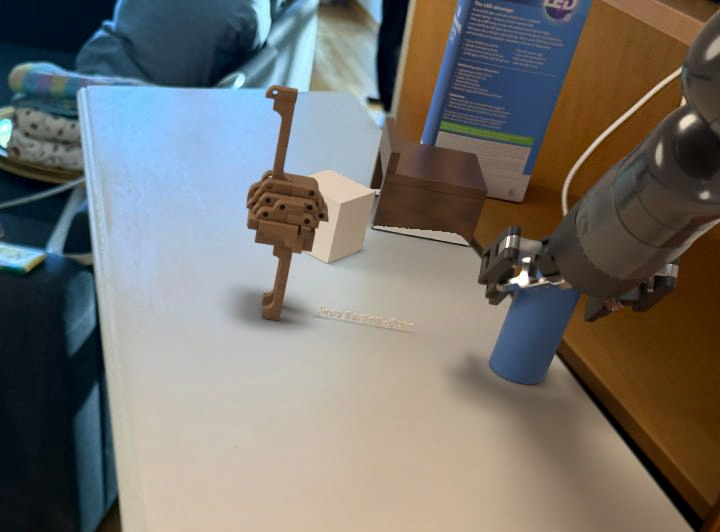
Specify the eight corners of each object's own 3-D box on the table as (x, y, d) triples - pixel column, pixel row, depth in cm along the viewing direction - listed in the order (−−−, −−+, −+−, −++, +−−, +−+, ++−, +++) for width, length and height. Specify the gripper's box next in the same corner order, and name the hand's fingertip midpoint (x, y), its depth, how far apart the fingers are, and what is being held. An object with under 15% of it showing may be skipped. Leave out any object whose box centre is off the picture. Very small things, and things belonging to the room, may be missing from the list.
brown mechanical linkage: (229, 321, 82) (263, 97, 69) (232, 287, 87) (265, 71, 74) (415, 351, 84) (482, 137, 71) (408, 316, 88) (470, 109, 75)
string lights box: (513, 182, 119) (600, -66, 100) (522, 205, 113) (616, -52, 95) (412, 163, 118) (481, -91, 99) (416, 185, 112) (489, -78, 94)
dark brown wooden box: (459, 207, 110) (482, 134, 104) (469, 247, 102) (494, 170, 96) (368, 190, 109) (386, 116, 103) (371, 229, 101) (391, 151, 96)
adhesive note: (316, 228, 99) (329, 169, 95) (361, 250, 97) (376, 191, 93) (281, 240, 96) (293, 179, 91) (327, 264, 93) (341, 203, 89)
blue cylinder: (539, 359, 86) (580, 263, 80) (549, 388, 83) (592, 291, 76) (485, 349, 86) (521, 253, 79) (492, 378, 82) (531, 280, 76)
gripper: (737, 188, 65) (626, 273, 81) (541, 150, 64) (468, 244, 80) (721, 295, 65) (613, 359, 81) (524, 259, 64) (454, 331, 80)
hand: (541, 302), depth 81 cm, fingers open, 8 cm apart
